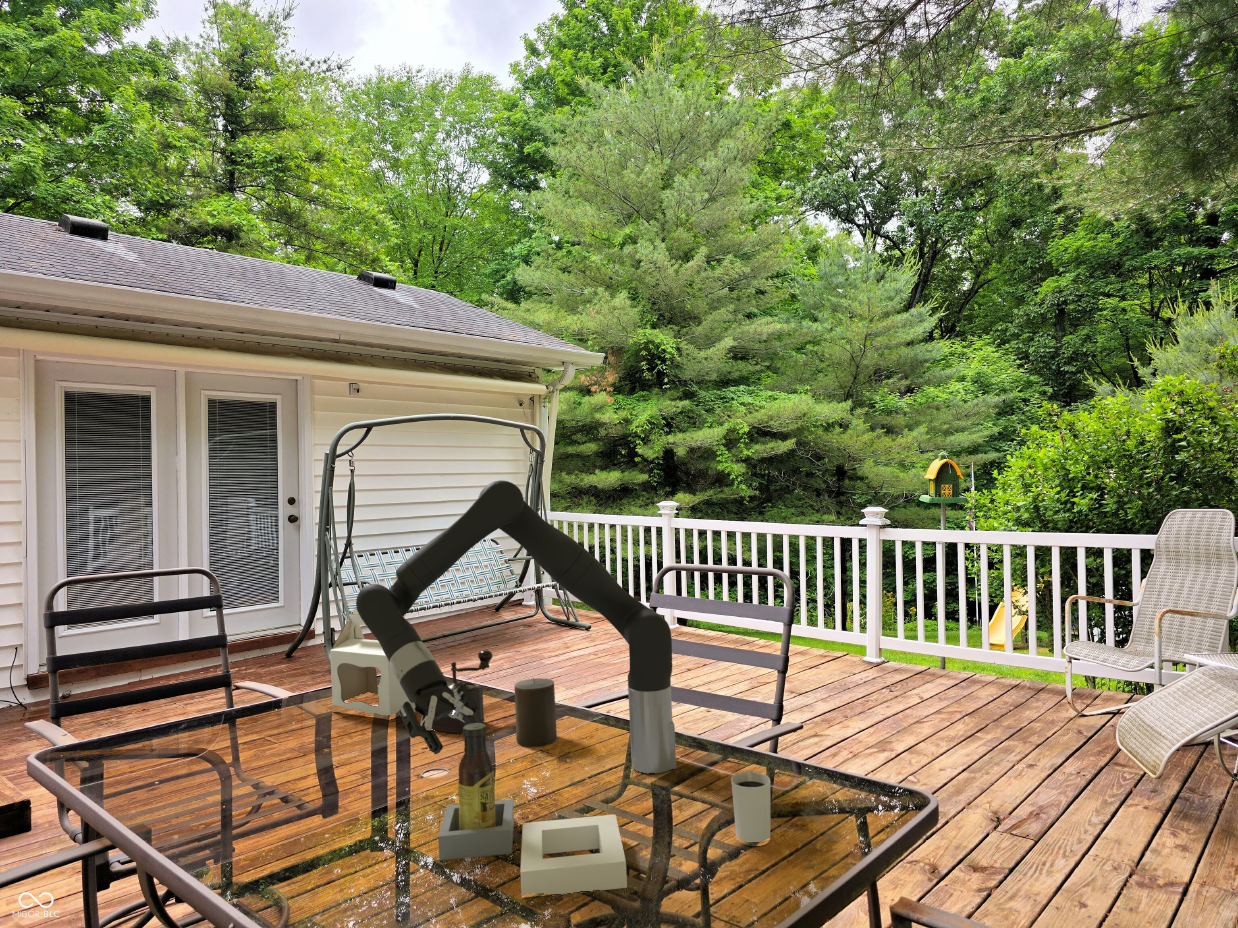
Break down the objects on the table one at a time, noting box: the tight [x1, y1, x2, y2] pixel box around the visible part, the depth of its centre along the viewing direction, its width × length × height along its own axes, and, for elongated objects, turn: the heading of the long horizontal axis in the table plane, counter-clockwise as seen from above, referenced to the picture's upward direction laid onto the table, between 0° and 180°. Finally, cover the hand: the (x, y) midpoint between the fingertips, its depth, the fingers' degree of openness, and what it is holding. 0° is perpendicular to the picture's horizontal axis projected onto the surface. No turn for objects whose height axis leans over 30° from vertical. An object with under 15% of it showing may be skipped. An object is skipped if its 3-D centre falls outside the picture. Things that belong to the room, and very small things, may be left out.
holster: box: [437, 799, 515, 862], centre depth 132 cm, size 12×12×4 cm
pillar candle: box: [513, 677, 558, 748], centre depth 181 cm, size 10×10×15 cm
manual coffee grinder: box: [431, 649, 494, 736], centre depth 196 cm, size 16×11×18 cm
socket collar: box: [519, 814, 628, 897], centre depth 122 cm, size 16×16×4 cm
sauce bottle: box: [457, 722, 497, 830], centre depth 132 cm, size 7×6×20 cm
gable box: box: [329, 608, 411, 715], centre depth 212 cm, size 22×13×28 cm, turn 63°
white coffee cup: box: [730, 771, 771, 842], centre depth 128 cm, size 7×7×10 cm
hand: (458, 743), depth 135 cm, fingers open, 8 cm apart
